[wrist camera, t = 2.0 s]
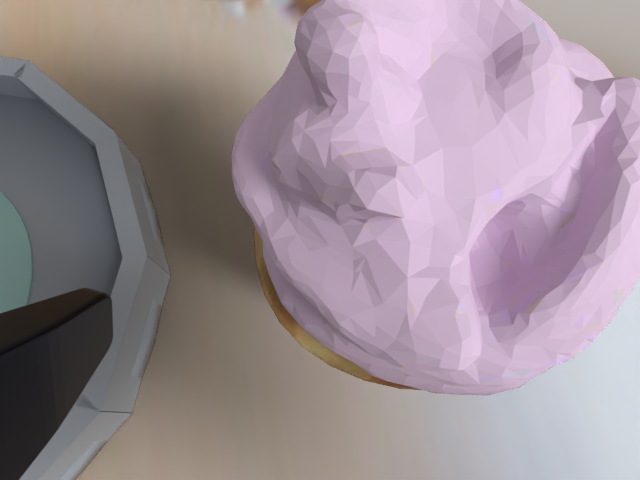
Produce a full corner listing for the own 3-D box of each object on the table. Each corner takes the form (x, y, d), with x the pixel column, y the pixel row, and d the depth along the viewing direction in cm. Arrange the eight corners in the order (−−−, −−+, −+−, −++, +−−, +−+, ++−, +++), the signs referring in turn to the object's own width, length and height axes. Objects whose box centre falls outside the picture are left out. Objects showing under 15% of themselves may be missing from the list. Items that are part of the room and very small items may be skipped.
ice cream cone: (315, 216, 21) (245, -234, 6) (479, 235, 20) (792, -213, 6) (287, 393, 19) (92, 300, 4) (469, 421, 18) (915, 414, 4)
